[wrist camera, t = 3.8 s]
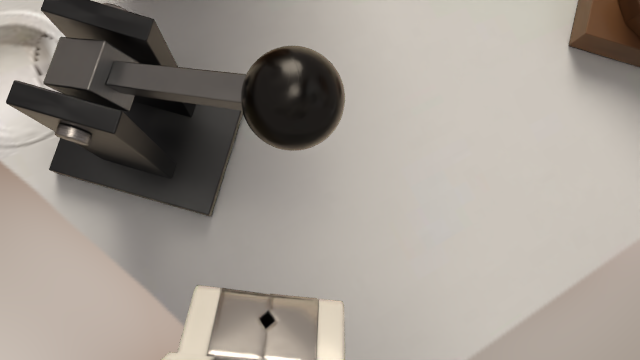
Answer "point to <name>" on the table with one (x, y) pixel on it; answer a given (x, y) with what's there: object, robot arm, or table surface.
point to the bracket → (132, 120)
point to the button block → (608, 29)
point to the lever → (213, 88)
